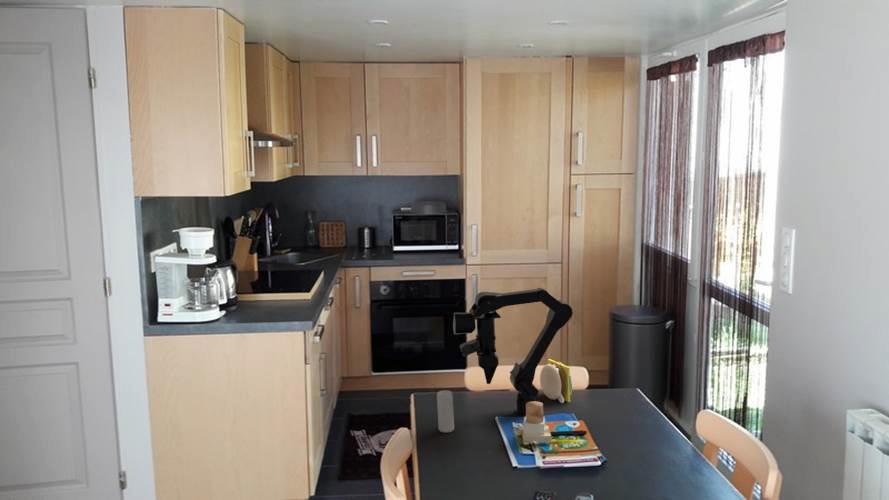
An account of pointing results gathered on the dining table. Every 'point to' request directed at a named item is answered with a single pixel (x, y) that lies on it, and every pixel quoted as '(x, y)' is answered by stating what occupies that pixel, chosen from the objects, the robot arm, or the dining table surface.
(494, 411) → the dining table surface
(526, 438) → the birch slab
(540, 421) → the tan cylinder
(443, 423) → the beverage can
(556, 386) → the hamburger
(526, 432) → the white block
